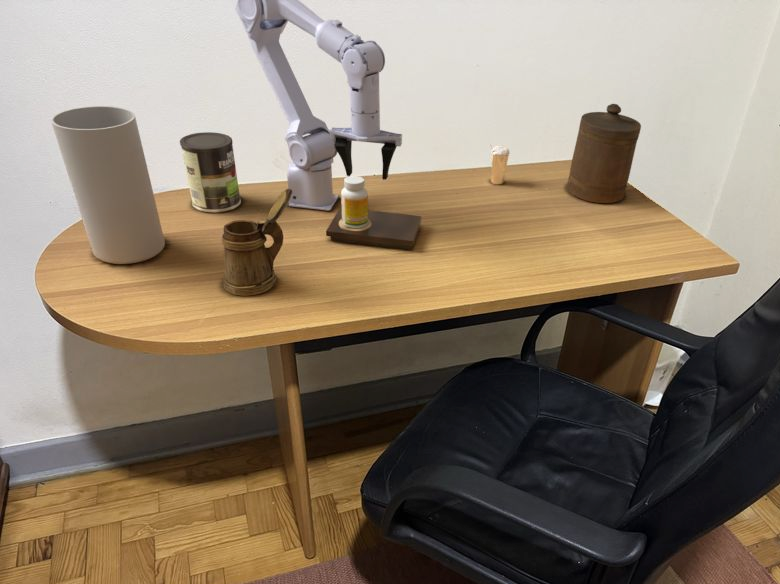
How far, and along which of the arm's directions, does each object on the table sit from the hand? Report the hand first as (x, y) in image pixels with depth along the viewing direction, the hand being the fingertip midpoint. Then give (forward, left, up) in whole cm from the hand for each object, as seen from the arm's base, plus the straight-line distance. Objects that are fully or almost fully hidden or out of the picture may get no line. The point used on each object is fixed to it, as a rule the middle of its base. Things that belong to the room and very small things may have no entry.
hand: (367, 176), depth 132 cm
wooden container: (+53, +32, -11) cm, 62 cm away
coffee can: (-34, +1, -11) cm, 36 cm away
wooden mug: (-13, -29, -11) cm, 34 cm away
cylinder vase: (-41, -24, -11) cm, 49 cm away
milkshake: (+27, +31, -11) cm, 42 cm away
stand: (+3, -5, -10) cm, 12 cm away
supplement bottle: (-1, -7, -8) cm, 11 cm away
